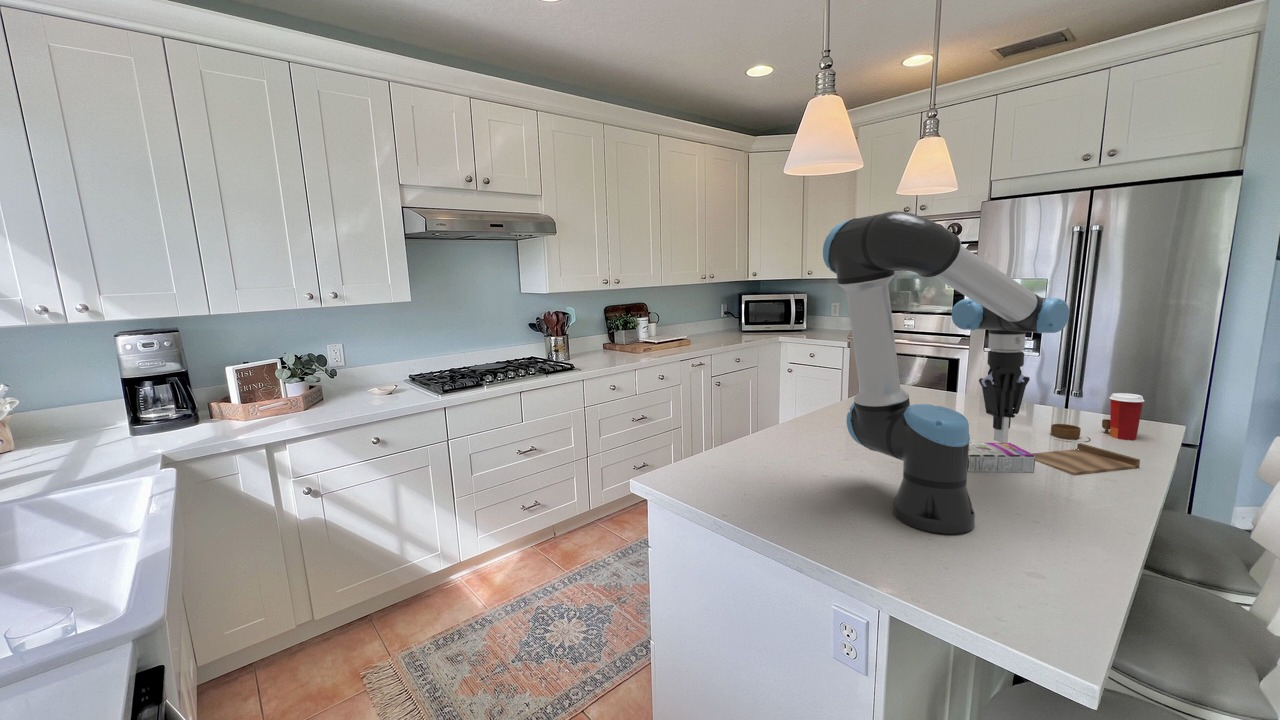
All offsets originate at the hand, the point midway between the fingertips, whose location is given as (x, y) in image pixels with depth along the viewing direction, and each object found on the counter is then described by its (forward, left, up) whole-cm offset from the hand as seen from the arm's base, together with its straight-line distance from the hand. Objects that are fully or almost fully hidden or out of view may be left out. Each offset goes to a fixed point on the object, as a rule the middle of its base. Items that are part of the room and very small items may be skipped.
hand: (1000, 441), depth 134 cm
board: (+24, 0, -8) cm, 26 cm away
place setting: (+44, +16, -9) cm, 48 cm away
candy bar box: (+9, +1, -6) cm, 10 cm away
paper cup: (+56, +13, -8) cm, 58 cm away
